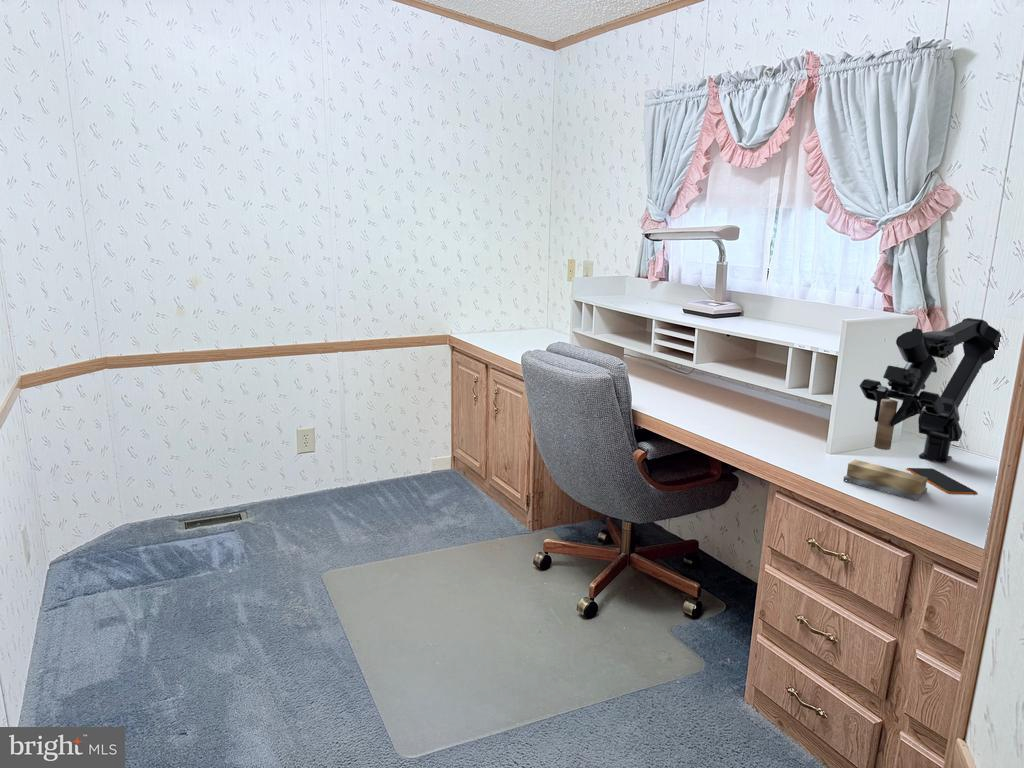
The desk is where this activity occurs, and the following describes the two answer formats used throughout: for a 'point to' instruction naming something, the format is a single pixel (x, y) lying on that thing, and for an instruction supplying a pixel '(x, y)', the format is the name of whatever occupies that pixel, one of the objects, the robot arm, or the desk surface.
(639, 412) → the desk surface
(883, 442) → the walnut dowel
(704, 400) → the desk surface
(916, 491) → the oak ridge
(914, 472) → the smartphone
